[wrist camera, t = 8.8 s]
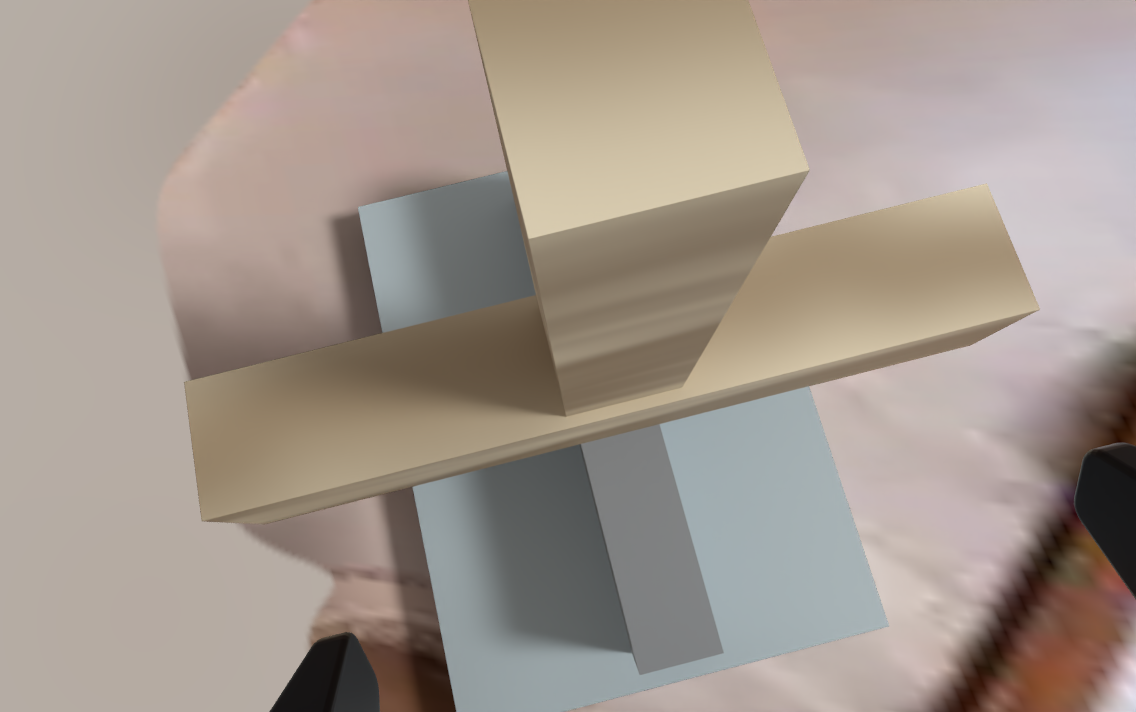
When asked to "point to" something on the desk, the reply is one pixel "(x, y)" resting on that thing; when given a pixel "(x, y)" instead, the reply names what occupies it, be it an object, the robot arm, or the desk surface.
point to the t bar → (615, 275)
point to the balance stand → (613, 510)
